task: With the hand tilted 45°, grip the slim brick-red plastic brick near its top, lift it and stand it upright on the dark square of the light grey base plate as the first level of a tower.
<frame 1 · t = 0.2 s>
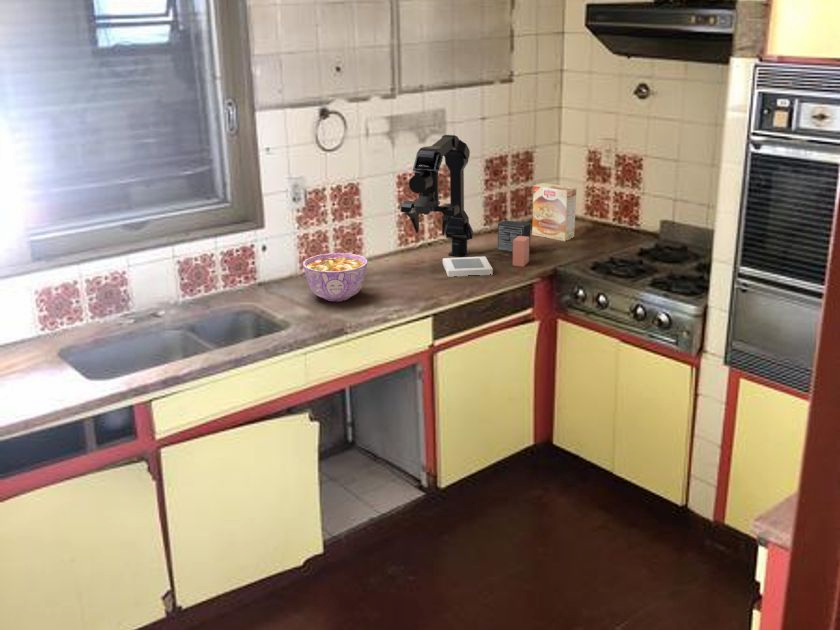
hand: (430, 233, 303), 15 cm above the worktop, tool pointing down, fingers open, 9 cm apart
bowl of food: (336, 297, 290), on the worktop
coffeecake box: (553, 236, 354), on the worktop
small box: (513, 251, 336), on the worktop
slim brick: (520, 263, 321), on the worktop
base plate: (467, 269, 316), on the worktop
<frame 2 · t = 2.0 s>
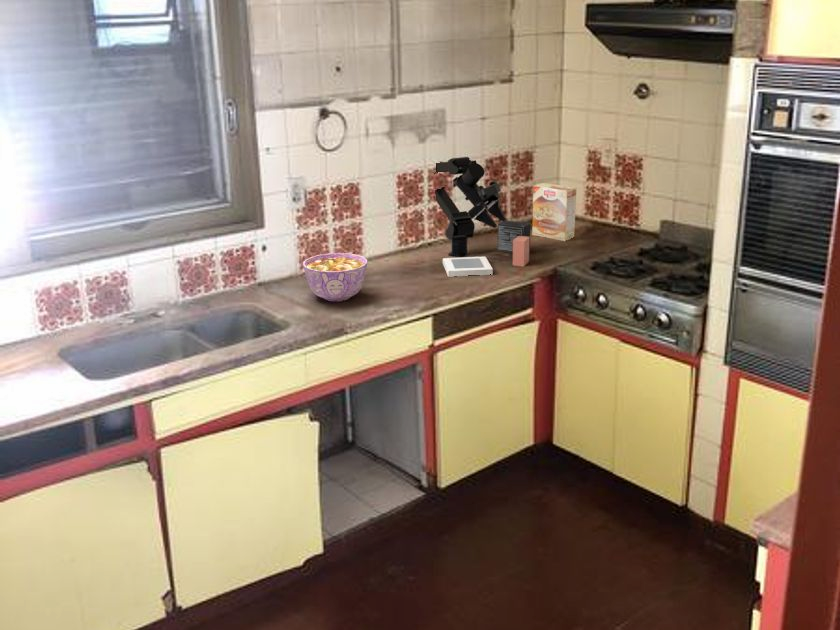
hand: (500, 223, 319), 14 cm above the worktop, tool tilted 45°, fingers open, 9 cm apart
nothing on the worktop moved.
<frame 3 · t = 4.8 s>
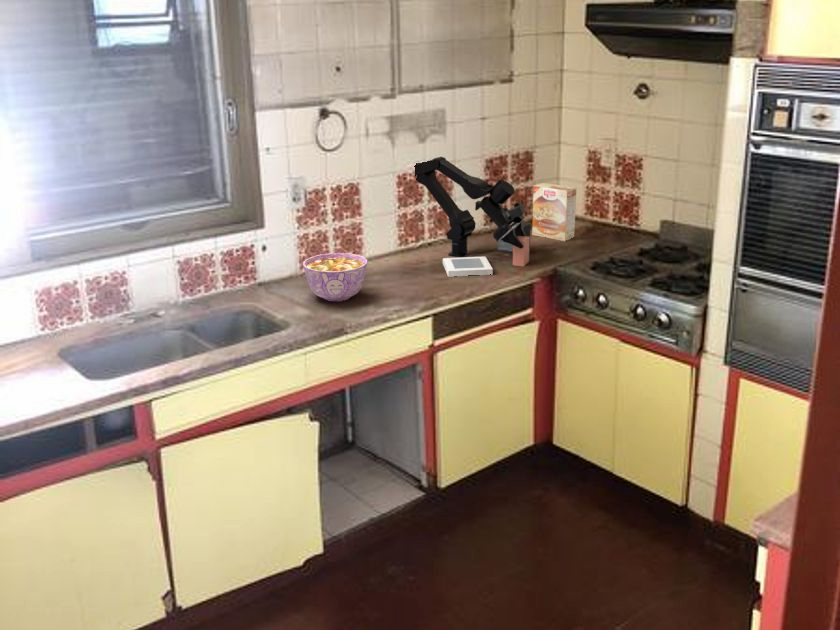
hand: (525, 245, 318), 7 cm above the worktop, tool tilted 45°, fingers closed on slim brick, 6 cm apart
slim brick: (520, 263, 321), on the worktop, touching gripper
everything else where it was.
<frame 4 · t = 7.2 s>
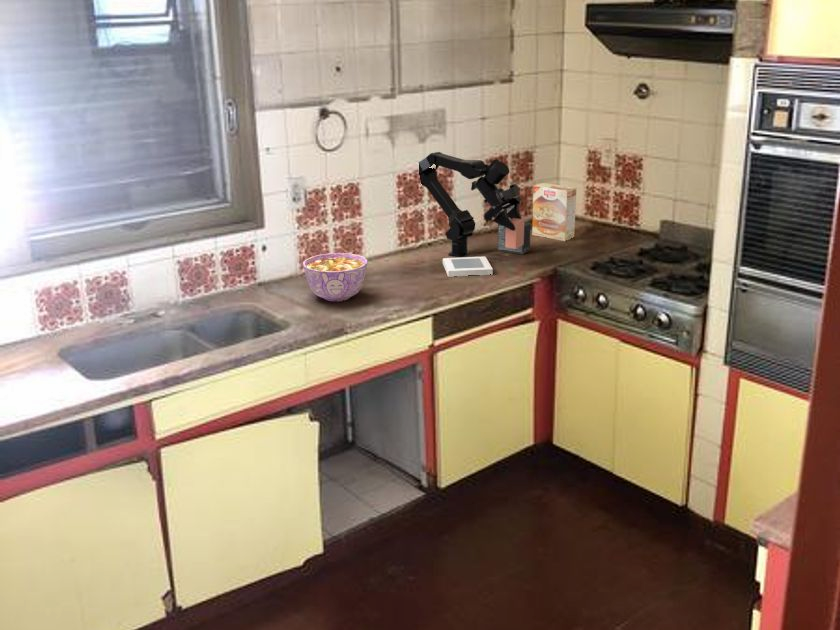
hand: (518, 227, 314), 14 cm above the worktop, tool tilted 45°, fingers closed on slim brick, 6 cm apart
slim brick: (514, 245, 317), point 7 cm above the worktop, touching gripper
everything else where it was.
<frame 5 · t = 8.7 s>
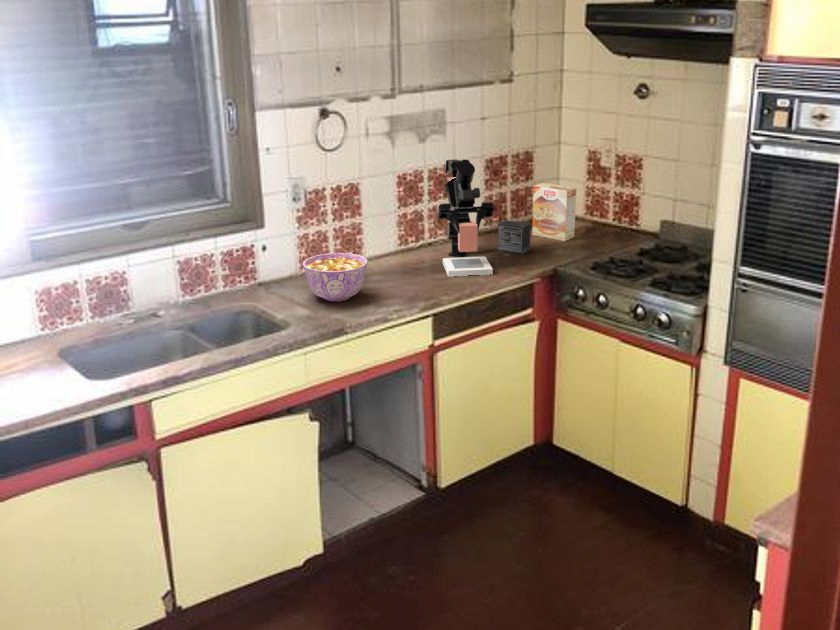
hand: (468, 232, 310), 13 cm above the worktop, tool tilted 45°, fingers closed on slim brick, 6 cm apart
slim brick: (467, 249, 313), point 7 cm above the worktop, touching gripper
everything else where it was.
when the fingers open (10 cm above the worktop, at t = 9.9 s): slim brick drops 1 cm, resting on base plate.
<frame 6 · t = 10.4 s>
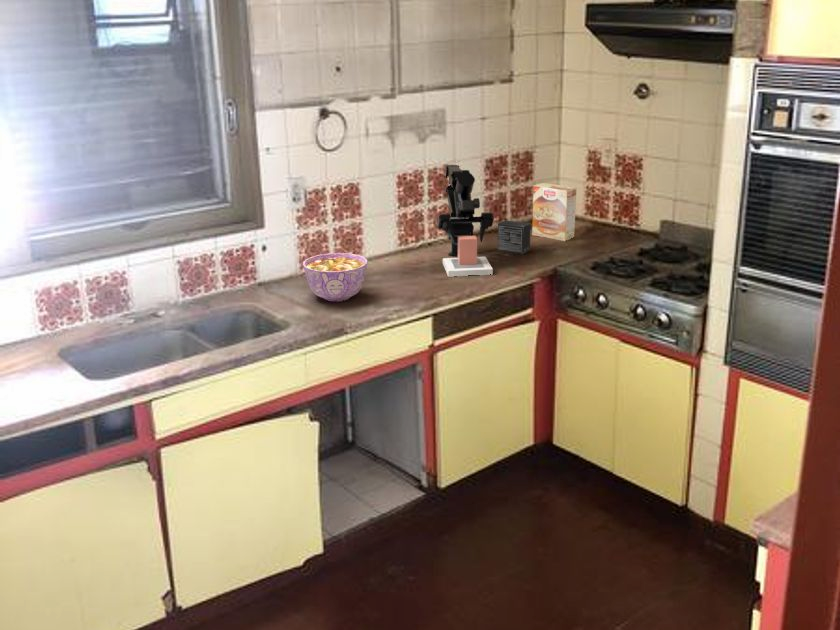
hand: (468, 242, 311), 10 cm above the worktop, tool tilted 45°, fingers open, 9 cm apart
slim brick: (467, 263, 315), point 2 cm above the worktop, touching base plate
everything else where it was.
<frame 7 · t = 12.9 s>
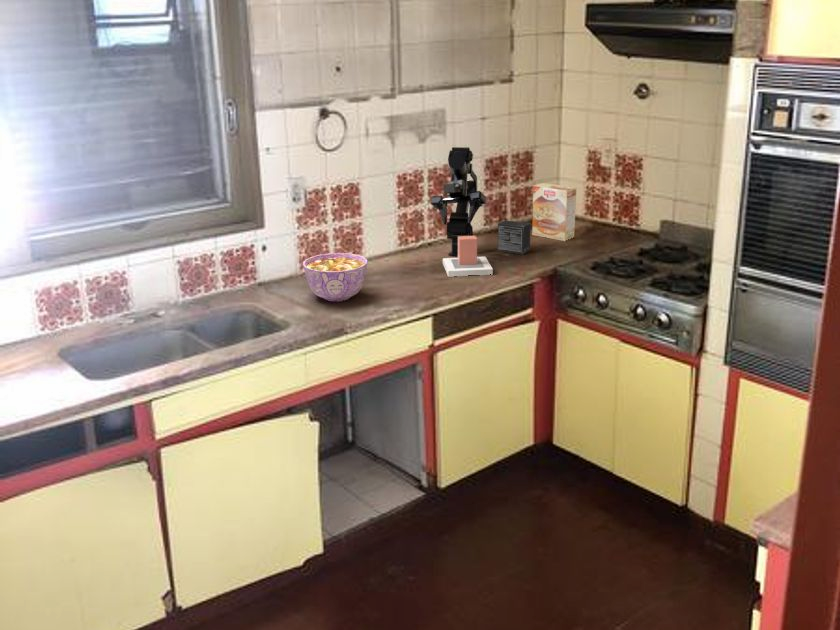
hand: (457, 223, 317), 14 cm above the worktop, tool tilted 35°, fingers open, 9 cm apart
nothing on the worktop moved.
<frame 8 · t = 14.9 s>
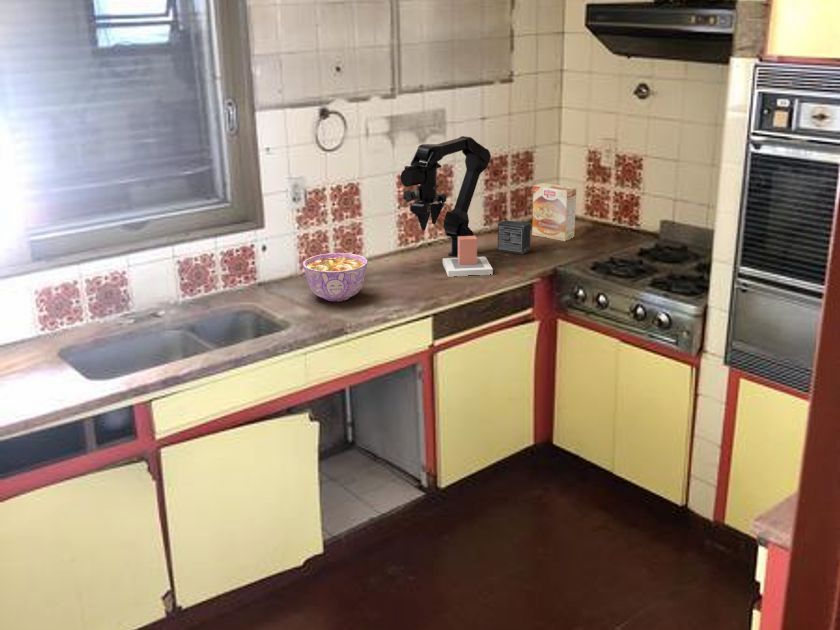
hand: (428, 226, 318), 13 cm above the worktop, tool pointing down, fingers open, 9 cm apart
nothing on the worktop moved.
at the end: slim brick 0.0 cm off-centre on the base plate, point 2.2 cm above the base plate's base; slim brick tilted 0°; the gripper is holding nothing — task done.
